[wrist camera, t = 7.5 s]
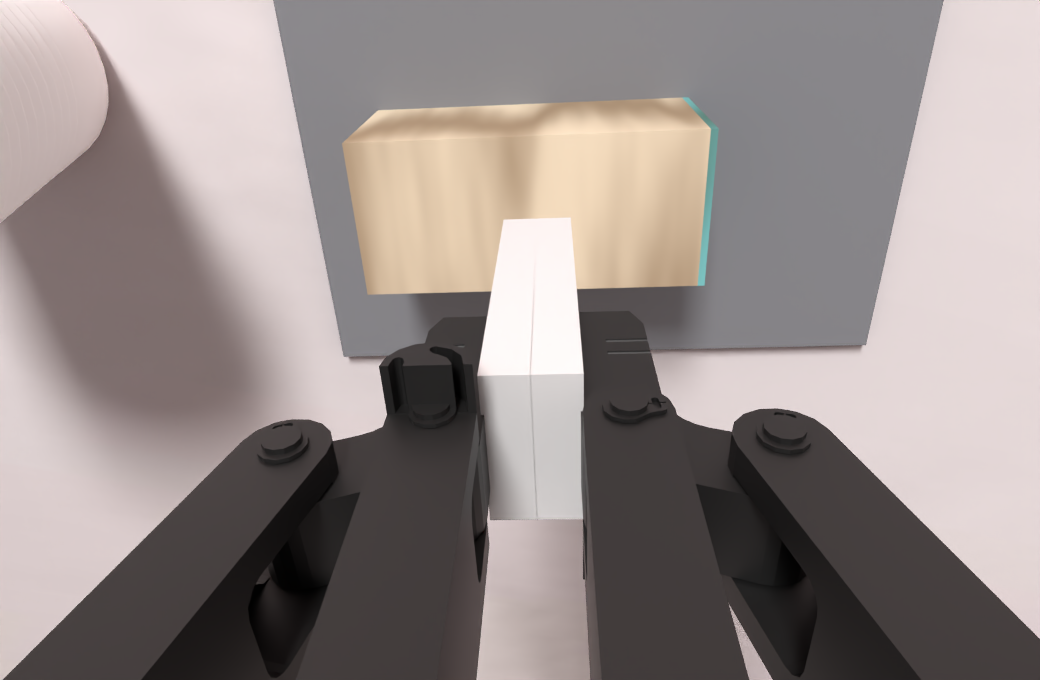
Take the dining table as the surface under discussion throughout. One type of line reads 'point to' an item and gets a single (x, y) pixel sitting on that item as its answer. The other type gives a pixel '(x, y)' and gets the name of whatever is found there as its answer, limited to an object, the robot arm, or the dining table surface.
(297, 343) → the dining table surface
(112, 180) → the dining table surface
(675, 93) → the mat
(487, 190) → the beech block
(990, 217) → the dining table surface
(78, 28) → the cup
